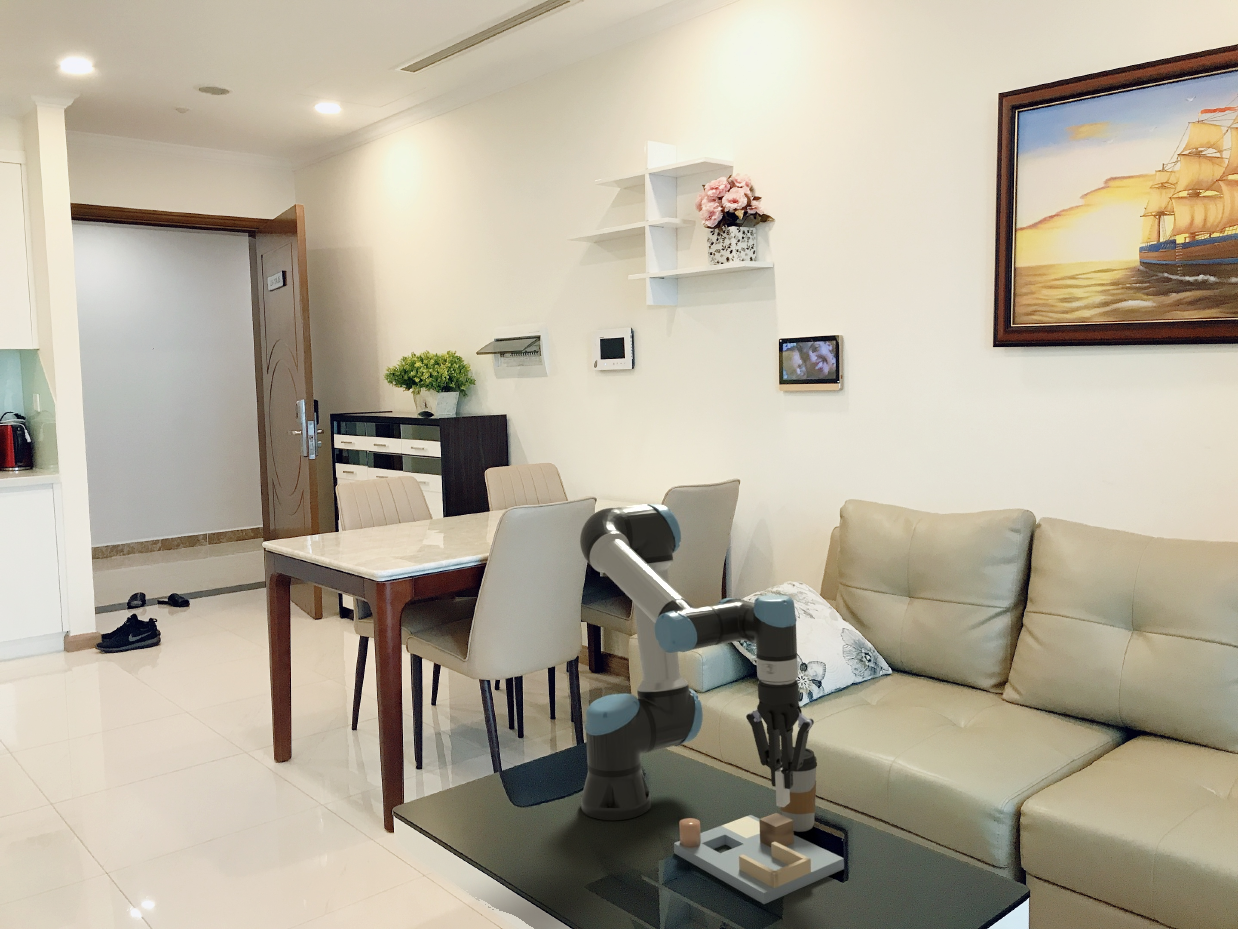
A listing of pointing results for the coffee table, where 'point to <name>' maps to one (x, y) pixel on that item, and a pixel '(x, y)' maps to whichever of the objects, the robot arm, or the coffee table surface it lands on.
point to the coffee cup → (802, 794)
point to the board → (759, 860)
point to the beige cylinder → (690, 832)
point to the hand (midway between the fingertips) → (783, 804)
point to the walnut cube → (776, 830)
